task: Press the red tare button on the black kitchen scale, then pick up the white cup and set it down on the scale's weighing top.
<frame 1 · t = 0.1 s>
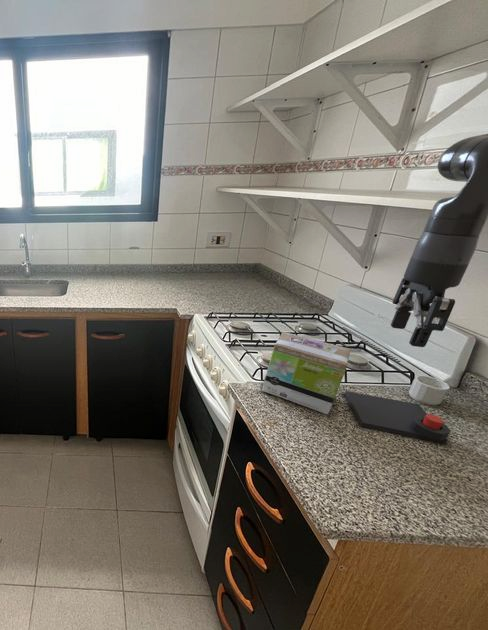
hand: (406, 336, 69), 24 cm above the counter, tool pointing down, fingers open, 8 cm apart
white cup: (423, 398, 89), on the counter
tea box: (296, 395, 91), on the counter
scale: (389, 416, 83), on the counter
tare button: (432, 422, 76), point 4 cm above the counter, slide at 0.1 cm
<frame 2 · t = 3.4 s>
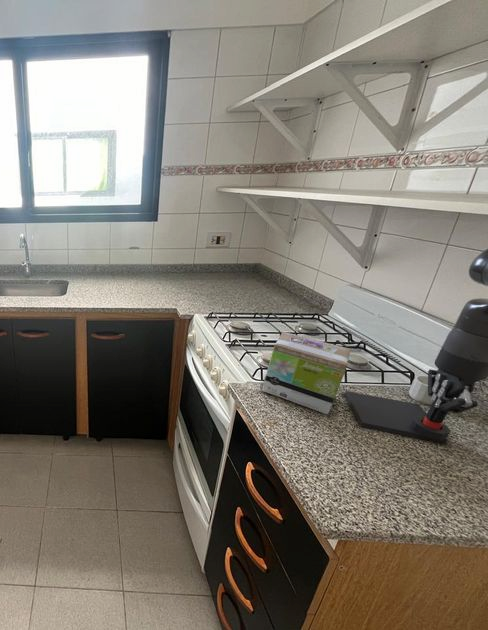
hand: (433, 419, 75), 4 cm above the counter, tool pointing down, fingers closed
tare button: (431, 423, 76), point 3 cm above the counter, slide at -0.4 cm, touching gripper
everything else where it was.
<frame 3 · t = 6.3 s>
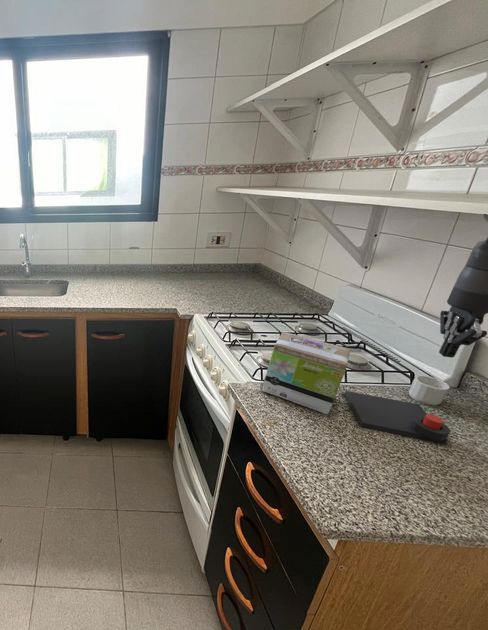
hand: (445, 355, 83), 13 cm above the counter, tool pointing down, fingers closed
tare button: (432, 422, 76), point 4 cm above the counter, slide at 0.1 cm
everything else where it was.
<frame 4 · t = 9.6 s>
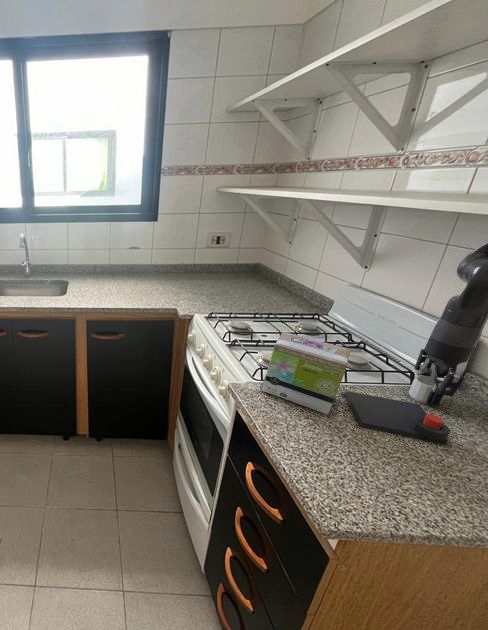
hand: (424, 396, 89), 1 cm above the counter, tool pointing down, fingers closed on white cup, 6 cm apart
white cup: (423, 398, 89), on the counter, touching gripper
everything else where it was.
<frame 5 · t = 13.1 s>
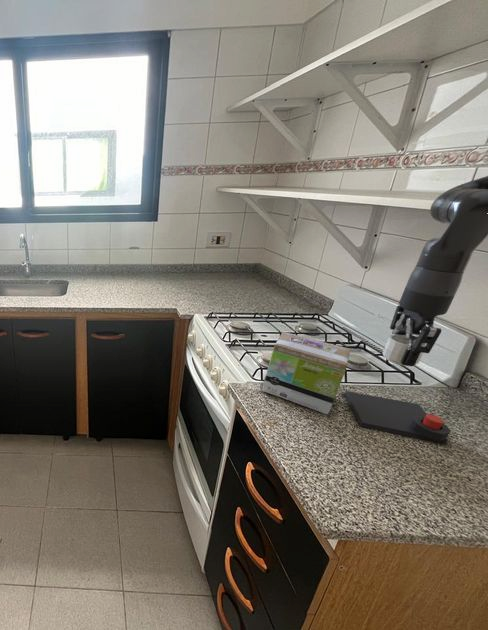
hand: (400, 357, 79), 15 cm above the counter, tool pointing down, fingers closed on white cup, 6 cm apart
white cup: (399, 359, 79), point 14 cm above the counter, touching gripper
everything else where it was.
when the fingers open (2 cm above the counter, at t = 16.8 s): white cup stays where it is, resting on scale.
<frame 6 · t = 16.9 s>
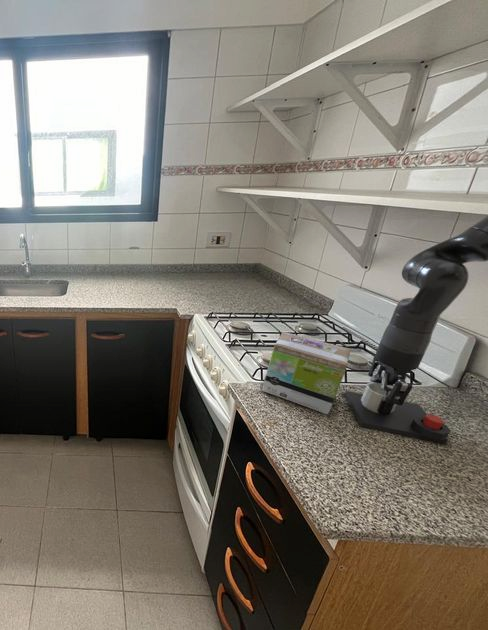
hand: (377, 404, 84), 2 cm above the counter, tool pointing down, fingers open, 6 cm apart
white cup: (376, 406, 84), point 1 cm above the counter, touching scale
everything else where it was.
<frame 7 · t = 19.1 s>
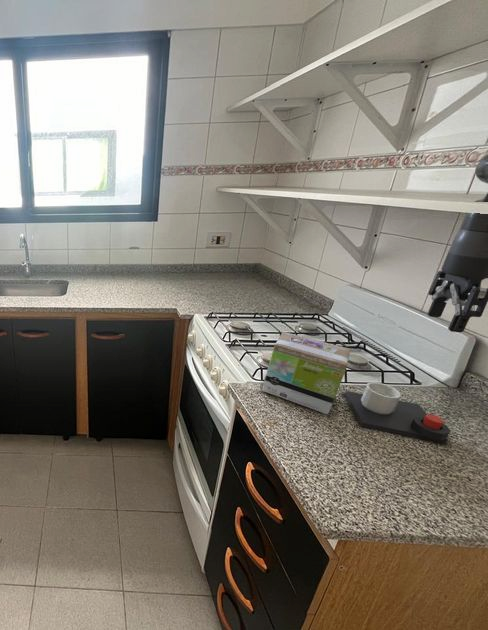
hand: (443, 323, 77), 23 cm above the counter, tool pointing down, fingers open, 8 cm apart
nothing on the counter moved.
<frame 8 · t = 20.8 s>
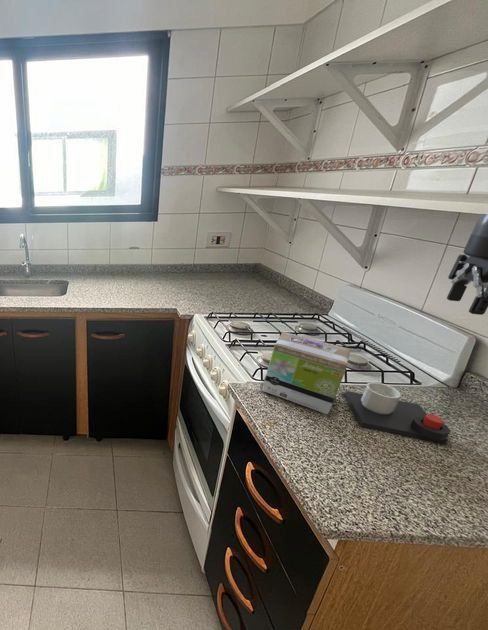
hand: (463, 306, 77), 26 cm above the counter, tool pointing down, fingers open, 8 cm apart
nothing on the counter moved.
at the end: tare button pushed in 1.1 cm at the most during the clip, back to where it started at the end; white cup inside the target area on the scale (2.9 cm from its centre), point 1.2 cm above the scale's base; white cup touching scale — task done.
